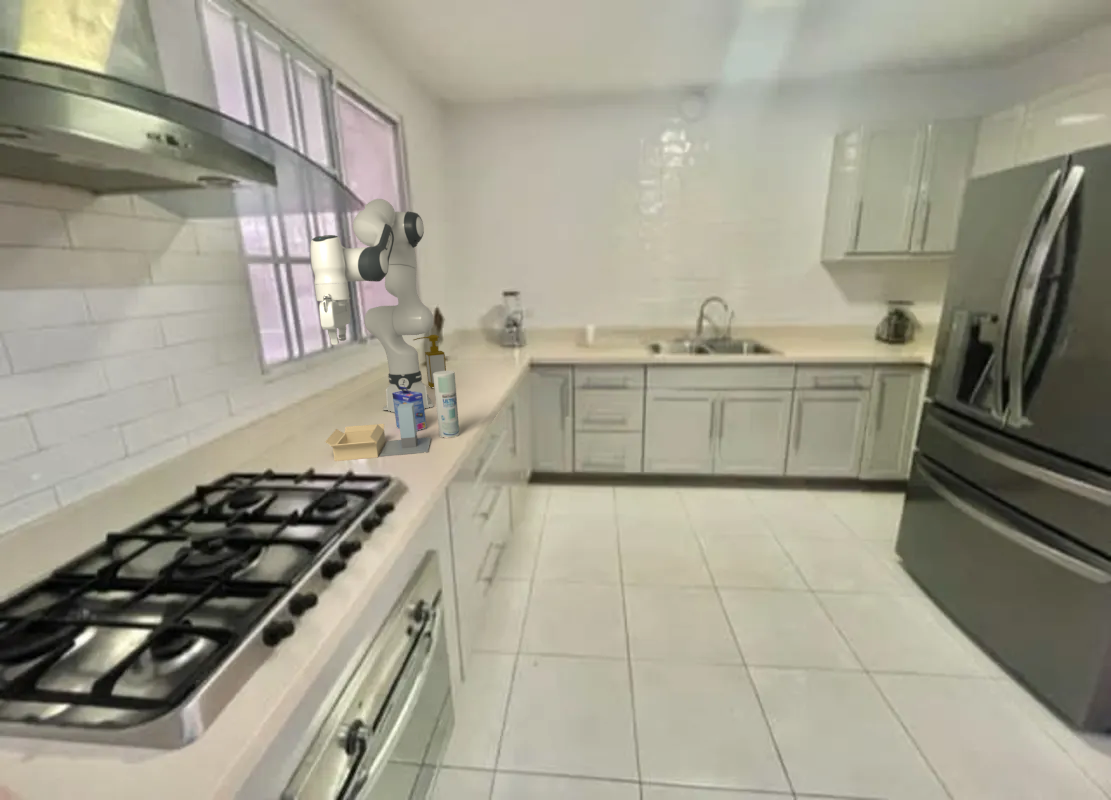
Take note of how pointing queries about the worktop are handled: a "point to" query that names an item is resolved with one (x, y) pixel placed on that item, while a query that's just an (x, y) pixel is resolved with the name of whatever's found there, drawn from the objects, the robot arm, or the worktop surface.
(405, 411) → the blue-grey rectangular block
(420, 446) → the plate
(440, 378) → the spray can
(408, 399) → the ink cartridge box
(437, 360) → the soap bottle
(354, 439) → the carton
